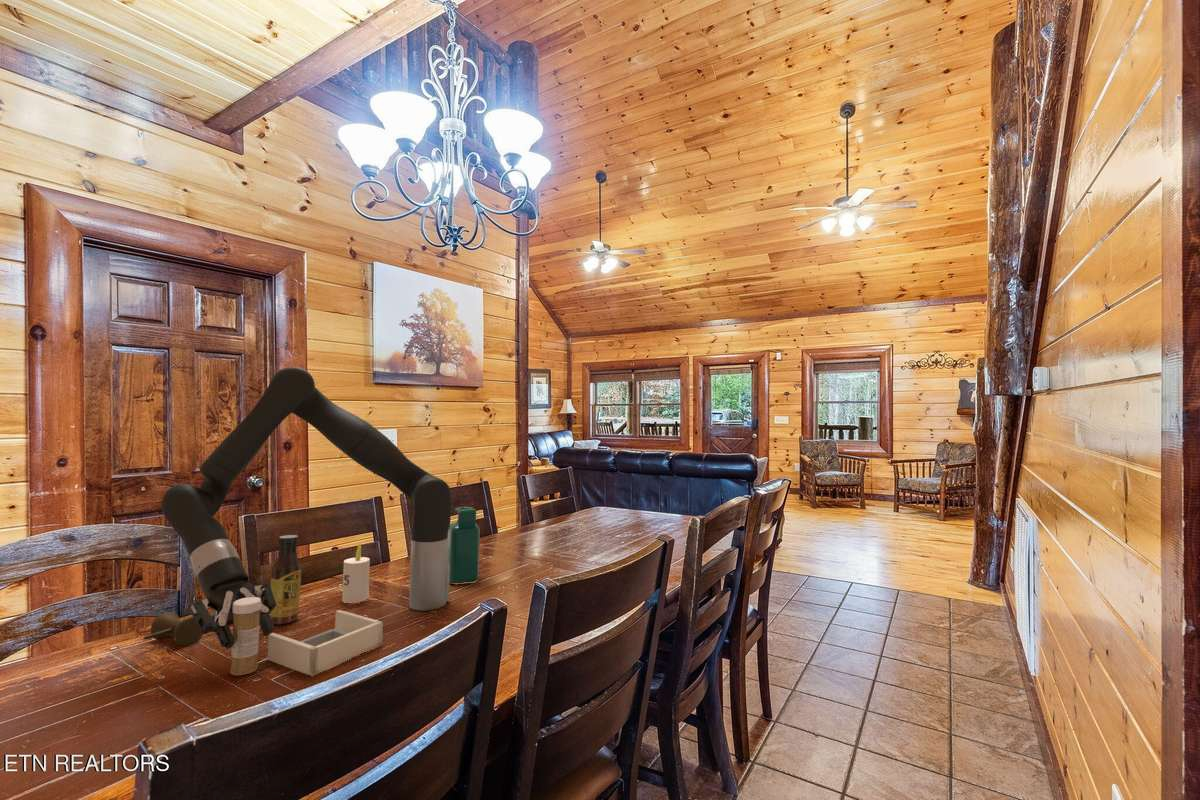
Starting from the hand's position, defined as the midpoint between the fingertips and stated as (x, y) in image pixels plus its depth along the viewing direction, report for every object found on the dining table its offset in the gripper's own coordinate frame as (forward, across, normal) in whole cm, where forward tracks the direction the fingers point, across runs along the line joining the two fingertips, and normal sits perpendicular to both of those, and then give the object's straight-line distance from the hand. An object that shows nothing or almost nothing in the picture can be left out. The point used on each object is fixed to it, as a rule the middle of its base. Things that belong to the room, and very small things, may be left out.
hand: (250, 639), depth 102 cm
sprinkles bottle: (+3, 0, +6) cm, 7 cm away
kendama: (-15, +4, +25) cm, 30 cm away
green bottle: (+1, +64, +8) cm, 65 cm away
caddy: (+8, +13, +1) cm, 15 cm away
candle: (-8, +37, +17) cm, 42 cm away
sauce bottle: (-9, +19, +18) cm, 28 cm away
